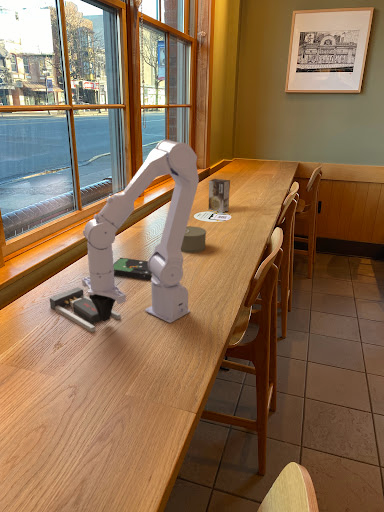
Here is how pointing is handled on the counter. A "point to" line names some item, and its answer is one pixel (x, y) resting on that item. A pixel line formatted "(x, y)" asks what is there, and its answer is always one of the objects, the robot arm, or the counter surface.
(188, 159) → the robot arm
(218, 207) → the coffee box
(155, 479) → the counter surface
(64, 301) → the dock
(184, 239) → the can
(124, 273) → the disk drive
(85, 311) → the usb drive
